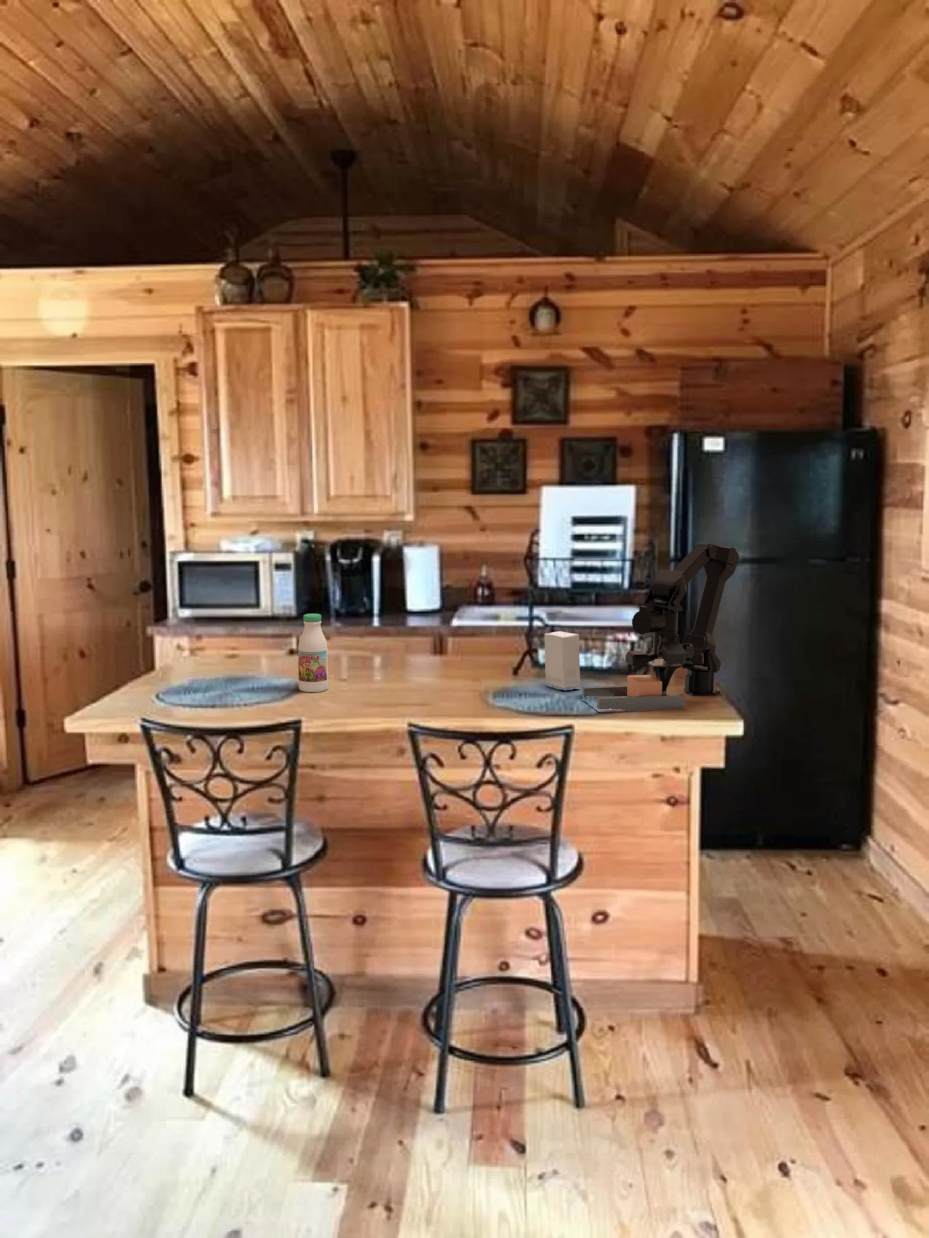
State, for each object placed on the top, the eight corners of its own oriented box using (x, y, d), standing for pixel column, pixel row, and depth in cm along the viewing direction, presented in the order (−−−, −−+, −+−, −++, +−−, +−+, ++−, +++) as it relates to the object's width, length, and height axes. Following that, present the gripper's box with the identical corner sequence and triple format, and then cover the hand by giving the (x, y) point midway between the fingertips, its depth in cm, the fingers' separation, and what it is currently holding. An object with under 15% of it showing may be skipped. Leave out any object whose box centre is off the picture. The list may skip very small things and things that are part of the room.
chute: (663, 696, 267) (664, 683, 267) (684, 709, 255) (684, 695, 254) (582, 700, 263) (582, 687, 262) (598, 713, 250) (599, 698, 250)
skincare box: (580, 689, 275) (581, 634, 273) (562, 692, 272) (563, 636, 269) (560, 683, 282) (561, 629, 280) (543, 686, 279) (543, 631, 276)
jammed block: (649, 694, 264) (650, 674, 263) (661, 701, 256) (662, 681, 255) (626, 695, 263) (627, 675, 262) (638, 702, 255) (639, 682, 254)
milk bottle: (301, 686, 277) (299, 612, 274) (330, 686, 277) (328, 612, 274) (296, 692, 270) (295, 616, 266) (326, 692, 270) (325, 616, 267)
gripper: (642, 636, 248) (639, 700, 250) (714, 634, 252) (712, 697, 254) (625, 628, 259) (623, 690, 261) (695, 626, 262) (692, 687, 265)
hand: (663, 691), depth 260 cm, fingers closed
